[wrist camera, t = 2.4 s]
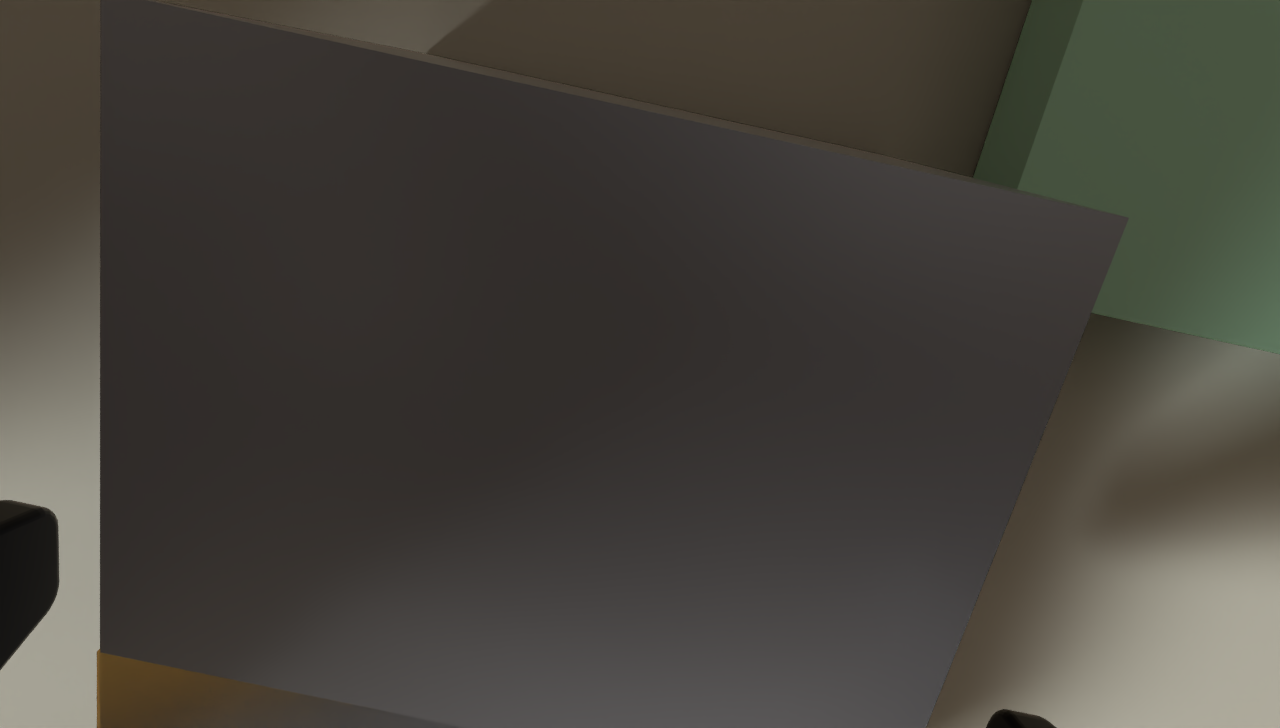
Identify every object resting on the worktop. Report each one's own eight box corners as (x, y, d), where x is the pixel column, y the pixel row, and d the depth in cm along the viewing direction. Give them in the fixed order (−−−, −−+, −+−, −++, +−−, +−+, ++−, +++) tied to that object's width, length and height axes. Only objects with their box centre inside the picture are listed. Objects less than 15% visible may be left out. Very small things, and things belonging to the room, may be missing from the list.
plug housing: (335, 781, 12) (98, 1247, 7) (421, 52, 9) (97, -13, 4) (678, 851, 12) (677, 1360, 7) (884, 156, 9) (1131, 218, 4)
